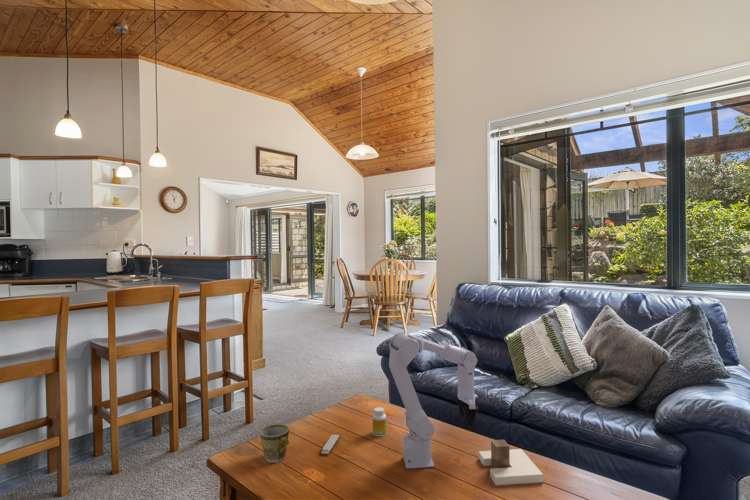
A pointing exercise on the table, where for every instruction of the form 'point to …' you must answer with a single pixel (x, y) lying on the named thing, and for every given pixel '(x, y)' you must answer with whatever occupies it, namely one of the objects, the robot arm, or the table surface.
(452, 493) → the table surface
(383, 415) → the supplement bottle
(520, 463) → the socket block
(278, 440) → the ceramic cup
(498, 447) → the peg
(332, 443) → the harmonica
